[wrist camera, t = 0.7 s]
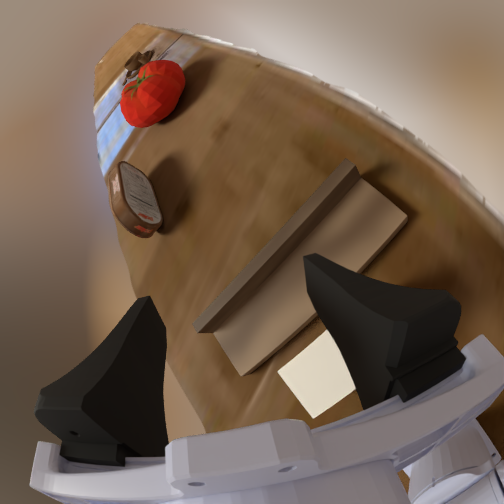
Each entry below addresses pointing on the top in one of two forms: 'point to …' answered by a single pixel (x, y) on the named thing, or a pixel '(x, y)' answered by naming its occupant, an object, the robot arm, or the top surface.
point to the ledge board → (299, 267)
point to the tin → (134, 200)
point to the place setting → (136, 63)
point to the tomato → (152, 93)
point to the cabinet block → (318, 375)
